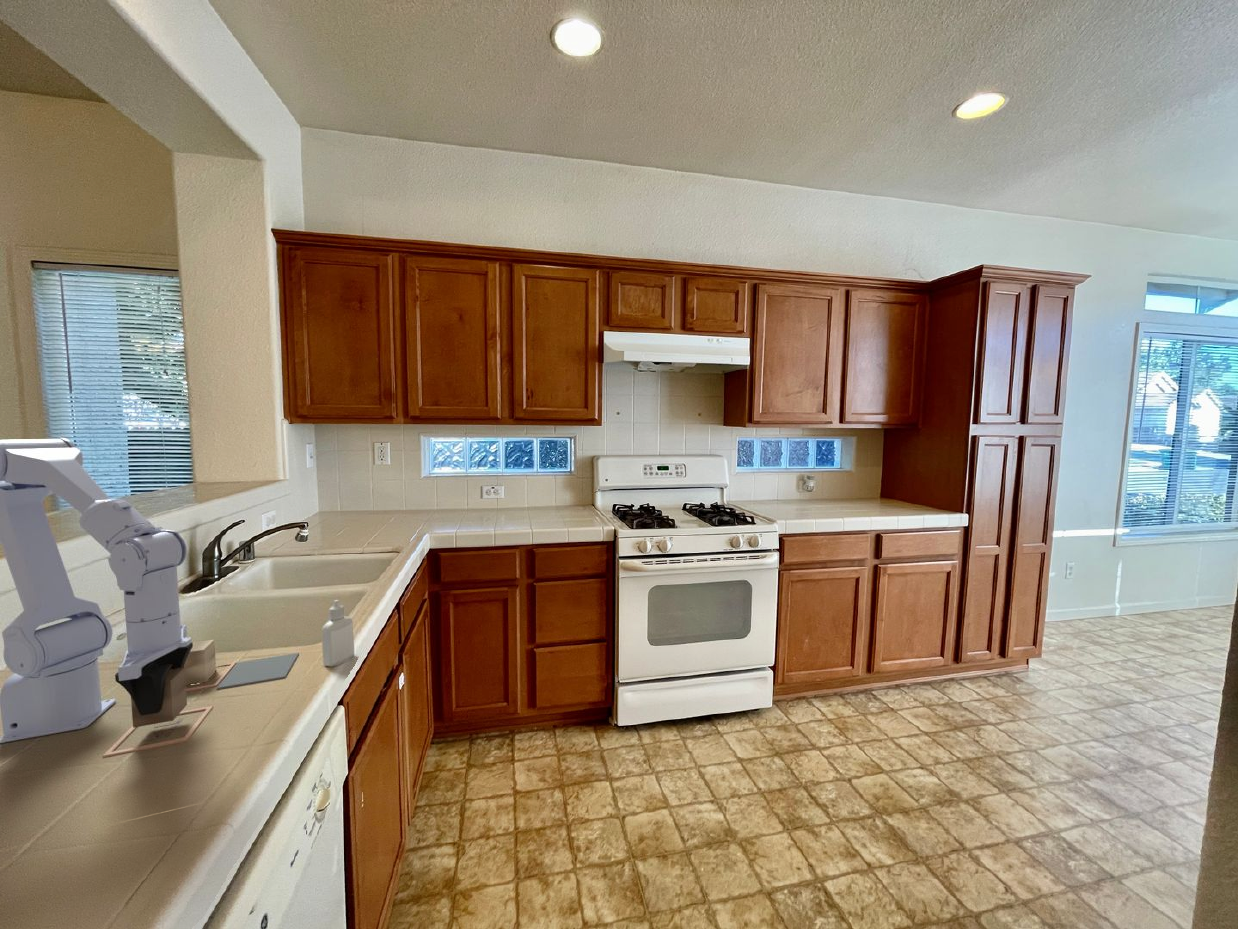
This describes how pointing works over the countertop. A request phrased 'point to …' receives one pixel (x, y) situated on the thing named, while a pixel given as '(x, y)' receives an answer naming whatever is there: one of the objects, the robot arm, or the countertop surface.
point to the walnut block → (165, 701)
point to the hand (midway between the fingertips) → (159, 703)
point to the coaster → (259, 671)
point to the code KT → (188, 735)
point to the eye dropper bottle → (337, 637)
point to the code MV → (216, 681)
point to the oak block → (200, 662)
